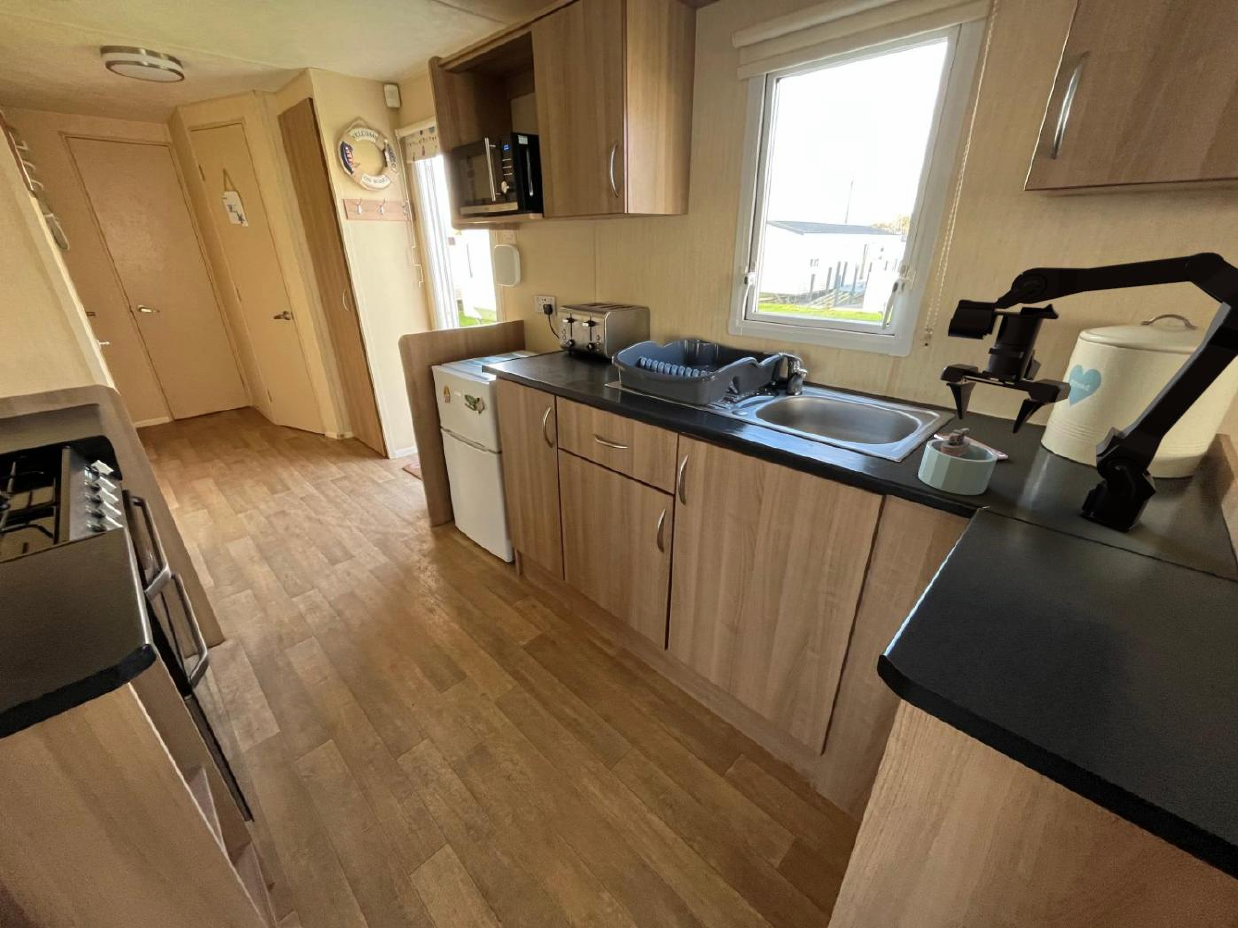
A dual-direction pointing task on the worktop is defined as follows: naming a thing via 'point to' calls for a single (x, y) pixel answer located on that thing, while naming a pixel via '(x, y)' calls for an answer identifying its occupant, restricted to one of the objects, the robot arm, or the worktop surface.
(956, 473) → the pale green round tub
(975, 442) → the mobile phone
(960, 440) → the lighter
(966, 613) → the worktop surface
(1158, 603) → the worktop surface
